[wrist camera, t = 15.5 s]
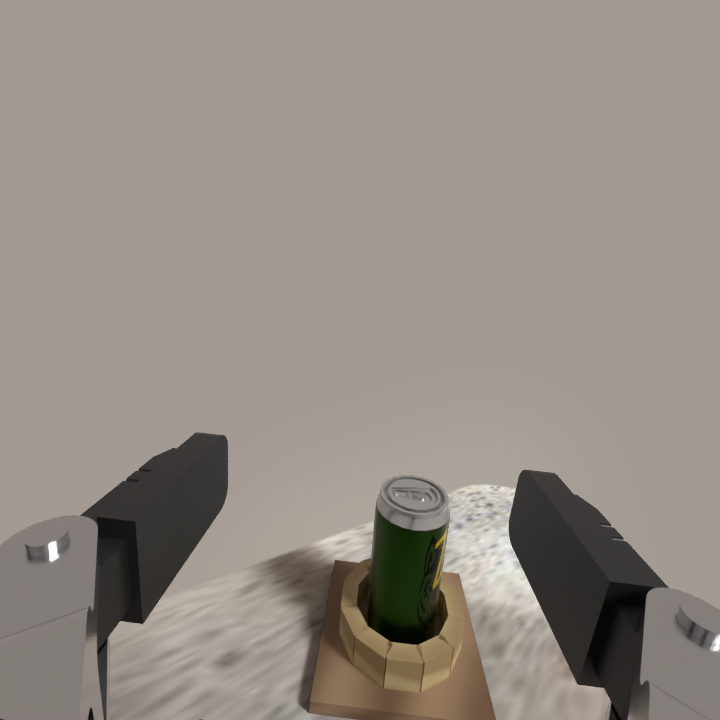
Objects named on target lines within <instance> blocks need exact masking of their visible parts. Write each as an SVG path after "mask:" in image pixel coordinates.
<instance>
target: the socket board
mask: <svg viewBox="0 0 720 720" xmlns="http://www.w3.org/2000/svg"><path fill="white" fill-rule="evenodd" d="M370 566H371V558H370V559H367V560H364V561H362V562H360V563H356V562H347V561H338V560H335V563H334V568H333V574H332V580H331V585H330V591H329V596H328V602H327V608H326V613H325V619H324V624H323V630H322V636H321V641H320V647H319V652H318V658H317V663H316V669H315V675H314V680H313V686H312V691H311V697H310V707H309V713H314V714H322V715H329V716H337V717H344V718H352V719H359V720H496V718H495V714H494V710H493V706H492V702H491V698H490V694H489V690H488V686H487V682H486V678H485V675H484V671H483V667H482V663H481V659H480V655H479V651H478V647H477V643H476V639H475V635H474V631H473V627H472V623H471V619H470V616H469V612H468V608H467V604H466V600H465V596H464V592H463V588H462V584H461V580H460V576H459V574H455V573H446V572H442V577H441V584H440V591H439V598H438V605H437V612H436V619H435V626H434V633H433V636H432V638H431V639H429V640H427V641H425V642H423V643H421V644H419V645H412V644H404V643H396V642H390V641H389V640H387V639H386V638H384V637H383V636H381V635H380V634H378V633H377V632H375V631H374V630H373V629H371V628H370V627H368V626H367V618H366V611H367V600H368V588H369V577H370Z"/></svg>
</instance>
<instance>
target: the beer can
mask: <svg viewBox="0 0 720 720" xmlns="http://www.w3.org/2000/svg"><path fill="white" fill-rule="evenodd" d="M449 520H450V509H449V506H448V495H447V493H446V491H445V490H444V489H443V488H442V487H441V486H439V485H438V484H436V483H435V482H433V481H431V480H428V479H426V478H423V477H418V476H413V475H401V476H395V477H392V478H390V479H388V480H386V481H385V482H384V483H383V484H382V486H381V490H380V493H379V495H378V498H377V501H376V511H375V521H374V532H373V543H372V555H371V566H370V577H369V588H368V600H367V611H366V618H367V626H368V627H370V628H371V629H373V630H374V631H375V632H377V633H378V634H380V635H381V636H383V637H384V638H386V639H387V640H389V641H390V642H396V643H404V644H412V645H419V644H421V643H423V642H425V641H427V640H429V639H431V638H432V636H433V633H434V626H435V619H436V612H437V605H438V598H439V591H440V584H441V577H442V570H443V563H444V556H445V548H446V541H447V534H448V527H449Z"/></svg>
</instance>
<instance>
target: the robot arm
mask: <svg viewBox="0 0 720 720" xmlns="http://www.w3.org/2000/svg"><path fill="white" fill-rule="evenodd" d="M227 489H228V443H227V438H226V437H225V436H224V435H216V434H207V433H195V434H194V435H193V436H191V437H190V438H189V439H188V440H186V442H184V443H183V444H182V445H181V446H179V447H178V448H177V449H175V448H172V449H170V450H168V451H166V452H164V453H161V454H159V455H157V456H155V457H153V458H152V459H150V460H149V461H148V462H147V463H145V464H144V465H143V466H142V467H140V468H139V471H135V472H134V473H133V474H132V475H130V476H129V477H128V478H127V480H126V481H123V482H122V483H120V484H119V485H118V486H117V487H115V488H114V489H113V490H112V491H110V492H109V493H108V494H107V495H105V496H104V497H103V498H102V499H100V500H99V501H98V502H97V503H96V504H94V505H93V506H92V507H90V508H89V509H88V510H87V511H85V512H84V513H83V514H81V515H80V516H63V517H58V518H53V519H49V520H45V521H42V522H40V523H37V524H34V525H32V526H30V527H27V528H26V529H24V530H22V531H20V532H18V533H16V534H15V535H13V536H12V537H10V538H9V539H7V540H6V541H5V542H4V543H3V544H2V545H0V720H109V697H110V642H109V635H110V634H111V632H112V631H113V630H114V628H115V627H116V626H117V624H118V623H119V622H120V621H125V622H133V623H140V624H143V623H144V622H145V620H146V619H147V617H148V616H149V614H150V613H151V611H152V610H153V608H154V607H155V606H156V604H157V603H158V601H159V600H160V598H161V597H162V595H163V594H164V592H165V591H166V589H167V588H168V587H169V585H170V584H171V582H172V581H173V579H174V577H175V576H176V574H177V573H178V572H179V570H180V569H181V568H182V566H183V564H184V563H185V562H186V560H187V559H188V557H189V556H190V554H191V553H192V551H193V550H194V549H195V547H196V546H197V544H198V543H199V541H200V540H201V538H202V537H203V535H204V534H205V533H206V531H207V530H208V528H209V527H210V525H211V524H212V522H213V521H214V519H215V518H216V516H217V515H218V514H219V512H220V511H221V509H222V507H223V505H224V502H225V499H226V495H227ZM509 537H510V541H511V545H512V547H513V549H514V551H515V554H516V556H517V558H518V560H519V562H520V564H521V566H522V568H523V570H524V573H525V575H526V577H527V579H528V581H529V583H530V585H531V587H532V589H533V592H534V594H535V596H536V598H537V600H538V602H539V604H540V606H541V608H542V610H543V613H544V615H545V617H546V619H547V621H548V623H549V625H550V627H551V629H552V632H553V634H554V636H555V638H556V640H557V642H558V644H559V646H560V648H561V651H562V653H563V655H564V657H565V659H566V661H567V663H568V665H569V667H570V669H571V672H572V674H573V676H574V678H575V680H576V682H577V684H579V685H586V686H594V687H601V688H604V689H605V690H606V692H607V694H608V696H609V698H610V702H609V705H608V708H607V711H606V714H605V720H720V610H718V609H717V608H715V607H714V606H712V605H710V604H709V603H707V602H705V601H703V600H701V599H699V598H697V597H694V596H692V595H690V594H688V593H685V592H682V591H679V590H675V589H671V588H668V587H667V585H666V584H665V583H664V582H663V581H662V580H661V579H660V578H659V577H658V576H657V574H656V573H655V572H654V571H653V570H652V569H651V568H650V567H649V566H648V565H647V563H646V562H645V561H644V560H643V559H642V558H641V557H640V556H639V555H638V554H637V552H636V551H635V550H634V549H633V548H632V547H631V546H630V545H629V544H628V543H627V542H625V541H624V540H623V537H622V536H621V535H620V534H619V533H618V532H617V531H616V529H615V528H612V527H611V524H610V523H609V522H608V521H607V520H606V518H605V517H604V516H603V515H602V514H601V513H600V512H599V511H598V510H597V509H596V508H595V507H593V506H592V505H590V504H589V503H588V502H586V501H585V500H583V499H582V498H580V497H579V496H578V495H574V494H573V493H572V492H571V491H570V490H569V488H568V487H567V486H566V485H565V484H564V483H563V481H562V480H561V479H560V478H559V477H558V476H557V475H556V474H555V473H549V472H541V471H532V470H523V471H522V472H521V473H520V475H519V479H518V483H517V488H516V492H515V497H514V501H513V506H512V510H511V515H510V519H509ZM199 720H200V719H199Z"/></svg>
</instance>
